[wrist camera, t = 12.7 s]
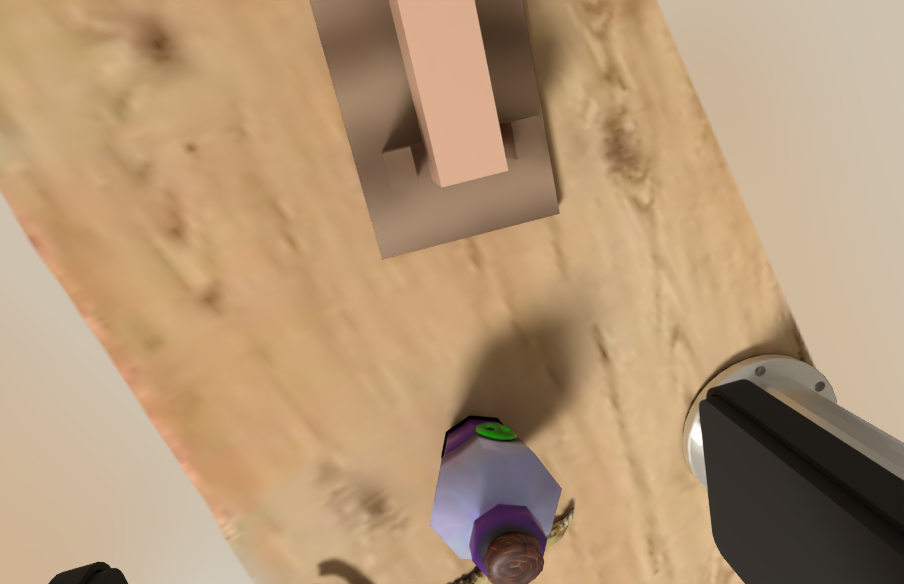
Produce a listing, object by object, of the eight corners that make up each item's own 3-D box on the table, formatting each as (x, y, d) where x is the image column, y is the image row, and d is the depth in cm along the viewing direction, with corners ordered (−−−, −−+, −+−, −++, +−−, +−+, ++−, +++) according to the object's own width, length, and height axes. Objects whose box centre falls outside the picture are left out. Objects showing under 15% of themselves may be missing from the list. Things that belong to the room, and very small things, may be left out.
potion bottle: (522, 382, 40) (580, 481, 28) (542, 480, 42) (602, 607, 31) (407, 412, 39) (419, 525, 28) (434, 510, 42) (455, 650, 30)
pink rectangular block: (489, 166, 32) (508, 170, 27) (432, 180, 32) (441, 187, 27) (423, -148, 27) (433, -208, 23) (356, -133, 27) (351, -192, 22)
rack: (554, 211, 37) (587, 224, 31) (382, 256, 36) (382, 278, 30) (478, -216, 30) (503, -302, 24) (262, -171, 29) (233, -248, 23)
